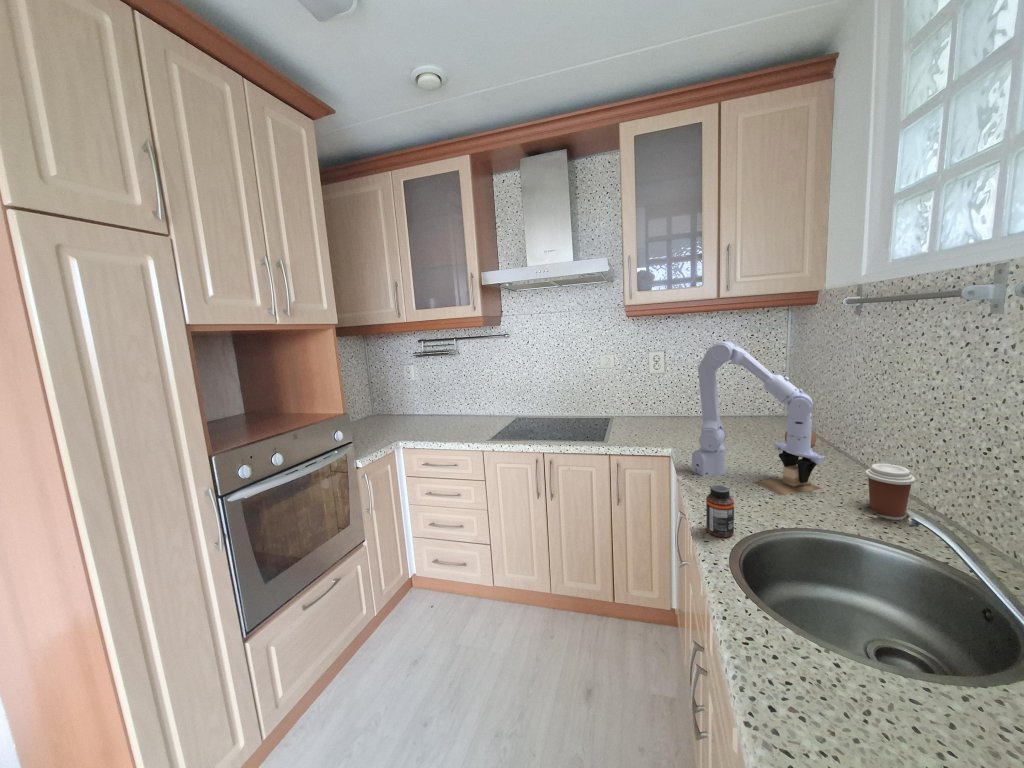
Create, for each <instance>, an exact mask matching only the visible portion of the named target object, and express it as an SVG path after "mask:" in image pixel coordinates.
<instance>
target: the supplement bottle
mask: <svg viewBox="0 0 1024 768" xmlns="http://www.w3.org/2000/svg"><path fill="white" fill-rule="evenodd" d="M709 492H710V493H708V494H707V495H706V502H705V505H706V507H705V508H706V512H705V513H706V516H705V518H706V520H705V521H706V523H705V524H706V531H707V532H708V533H709V534H711V535H713V536H715V537H718V538H723V539H724V538H729V537H732V536H733V535H734V532H735V501H734V498H733V497H732V496H730V488H729V487H727V486H725V485H718V484H715V485H711V486H710V491H709Z"/></svg>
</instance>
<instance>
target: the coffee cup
mask: <svg viewBox="0 0 1024 768" xmlns="http://www.w3.org/2000/svg"><path fill="white" fill-rule="evenodd" d="M864 475H865V476H866V477H867V481H868V499H869V500H868V502H869V503H868V504H869V507H870V509H872V510H873V511H876V512H878V513H873V515H874V516H877V517H879V518H882V519H886V520H893V521H894V520H895V521H896V520H897V521H899V520H900V519H901V520H904V519H905V517H906V513H905V511H906V512H907V507H908V502H909V497H910V493H911V492H910V491H911V487H912V485H913V484H915V483H916V480H917V478H915V476H914V475H912V474H911V470H909V469H908V468H907V467H904V466H900V465H896V464H890V463H873V464H871V465H870V468H868V469H866V470H865V471H864ZM903 518H904V519H903Z"/></svg>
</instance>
